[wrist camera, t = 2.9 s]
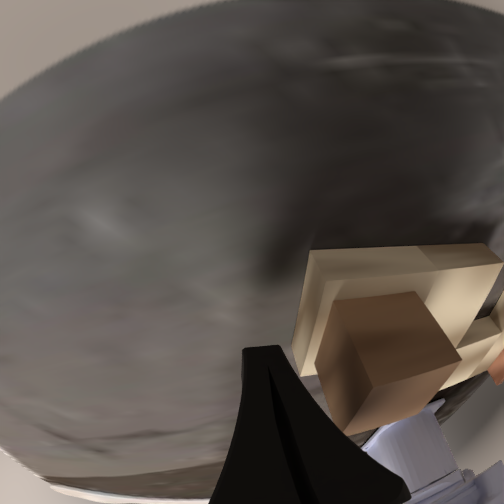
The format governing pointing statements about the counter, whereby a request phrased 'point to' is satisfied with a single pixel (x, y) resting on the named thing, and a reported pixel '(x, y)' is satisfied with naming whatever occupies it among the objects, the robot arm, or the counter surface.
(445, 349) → the walnut cube
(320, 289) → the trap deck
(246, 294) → the counter surface
